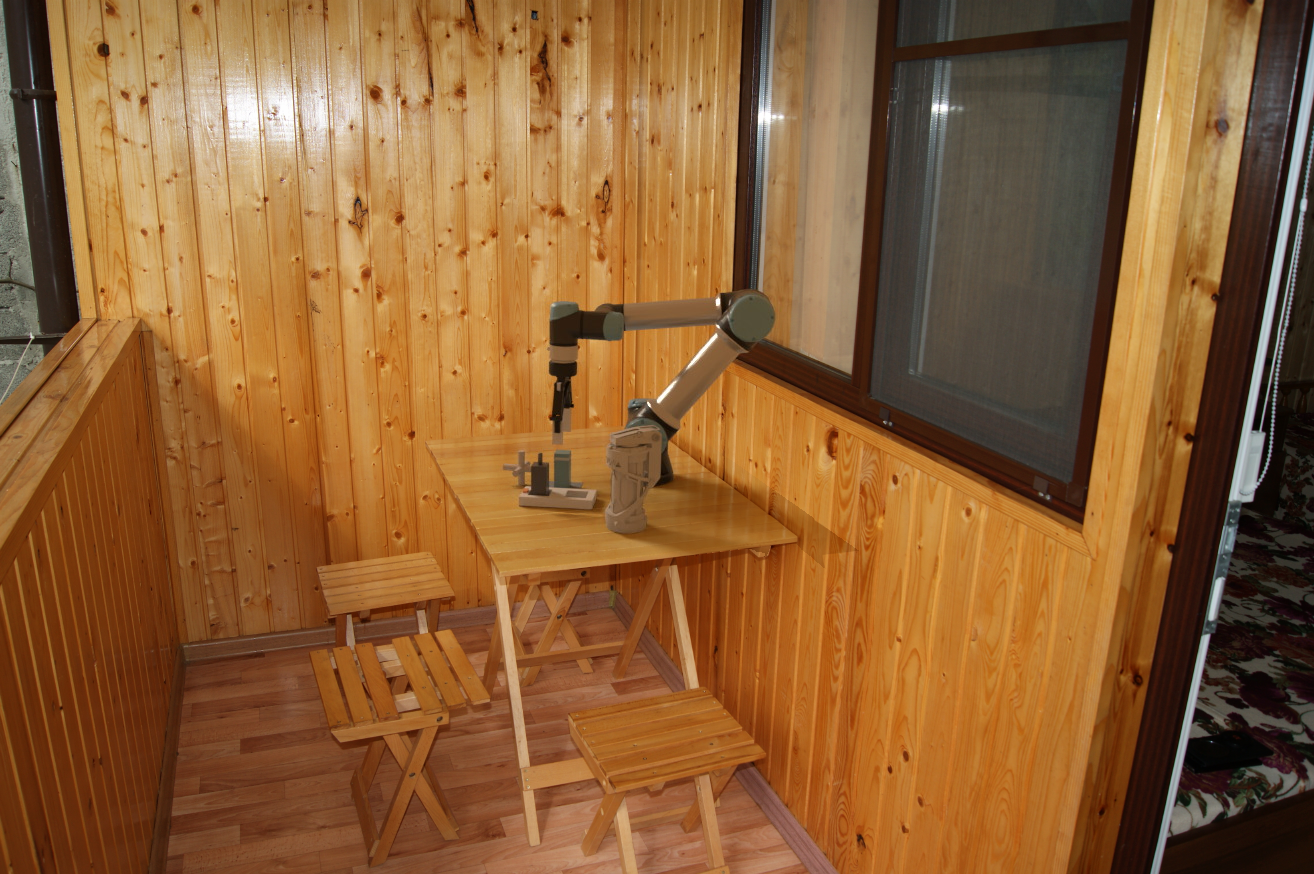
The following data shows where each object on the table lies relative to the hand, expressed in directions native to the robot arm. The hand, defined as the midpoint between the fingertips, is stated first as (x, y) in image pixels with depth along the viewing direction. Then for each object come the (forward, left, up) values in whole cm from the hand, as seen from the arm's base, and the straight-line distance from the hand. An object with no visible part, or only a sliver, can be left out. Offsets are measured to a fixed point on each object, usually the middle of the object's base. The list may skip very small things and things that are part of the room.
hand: (561, 437), depth 280 cm
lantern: (-22, +27, -15) cm, 38 cm away
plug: (0, 0, -14) cm, 14 cm away
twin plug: (+3, +13, -15) cm, 20 cm away
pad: (0, 0, -15) cm, 15 cm away
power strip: (-1, +13, -15) cm, 20 cm away
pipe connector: (+11, -1, -15) cm, 18 cm away
